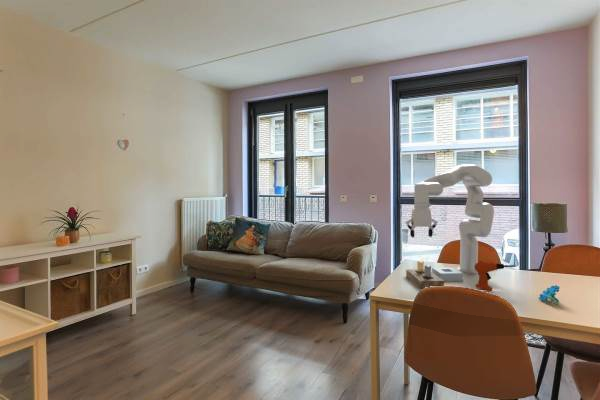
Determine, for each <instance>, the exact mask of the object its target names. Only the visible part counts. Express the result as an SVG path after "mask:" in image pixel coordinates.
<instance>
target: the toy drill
mask: <svg viewBox="0 0 600 400" xmlns="http://www.w3.org/2000/svg"><path fill="white" fill-rule="evenodd" d="M474 268H475V270H476V271H477V272H478V283H476V284H475V288H476V289H477V290H479V291H483V292H484V291H485V290H486V291H487V292H492V291H493V287H492V286H490V285H489V280H491V279H492V277H491V276H490V273H489V272H494V271H497V270H501V269H502V270H504V269H505V268H516V265H515V264H509V265H508V264H507V265H506V264H505V265H504V264H503V263H497V262H492V261H489V262H488V261H483V260H479V261H478V263H476V264H475V266H474ZM486 291H485V292H486Z"/></svg>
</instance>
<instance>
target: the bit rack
mask: <svg viewBox="0 0 600 400" xmlns="http://www.w3.org/2000/svg"><path fill="white" fill-rule="evenodd" d="M405 274H406V275H405V277H406V278H407V279H408V280H409V281H411V283H413V284H414V285H415V286H417V288H419V289H420V290H424V289H423V288H425V287H430V286H444V287H445V281H444V280H442V279H441V278H439V277H438V276H436V275H435V274H433V273H432V271H431V279H424V273H422V274H418V272H417V269H415V268H413V269H411V268H409V269H406V271H405Z"/></svg>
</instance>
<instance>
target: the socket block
mask: <svg viewBox="0 0 600 400" xmlns="http://www.w3.org/2000/svg"><path fill="white" fill-rule="evenodd" d="M431 272H432V273H433V274H435V275H436V276H438V277H439V278H441V279H442V280H444V282H445V281H447V282H449V281H450V282H451V281H452V282H453V281H454V282H455V281H456V282H457V281H458V282H459V281H463V280H464V279H463V276H464V274H463V273H464V272H463V271H459V270H458V269H457V268H454V267H453V266H451V267H431Z"/></svg>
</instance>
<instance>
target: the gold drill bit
mask: <svg viewBox="0 0 600 400" xmlns="http://www.w3.org/2000/svg"><path fill="white" fill-rule="evenodd" d="M416 263H417V265H416V266H417V272H418V274H422V273H424V268H425V264H424V260H417V262H416Z"/></svg>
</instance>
